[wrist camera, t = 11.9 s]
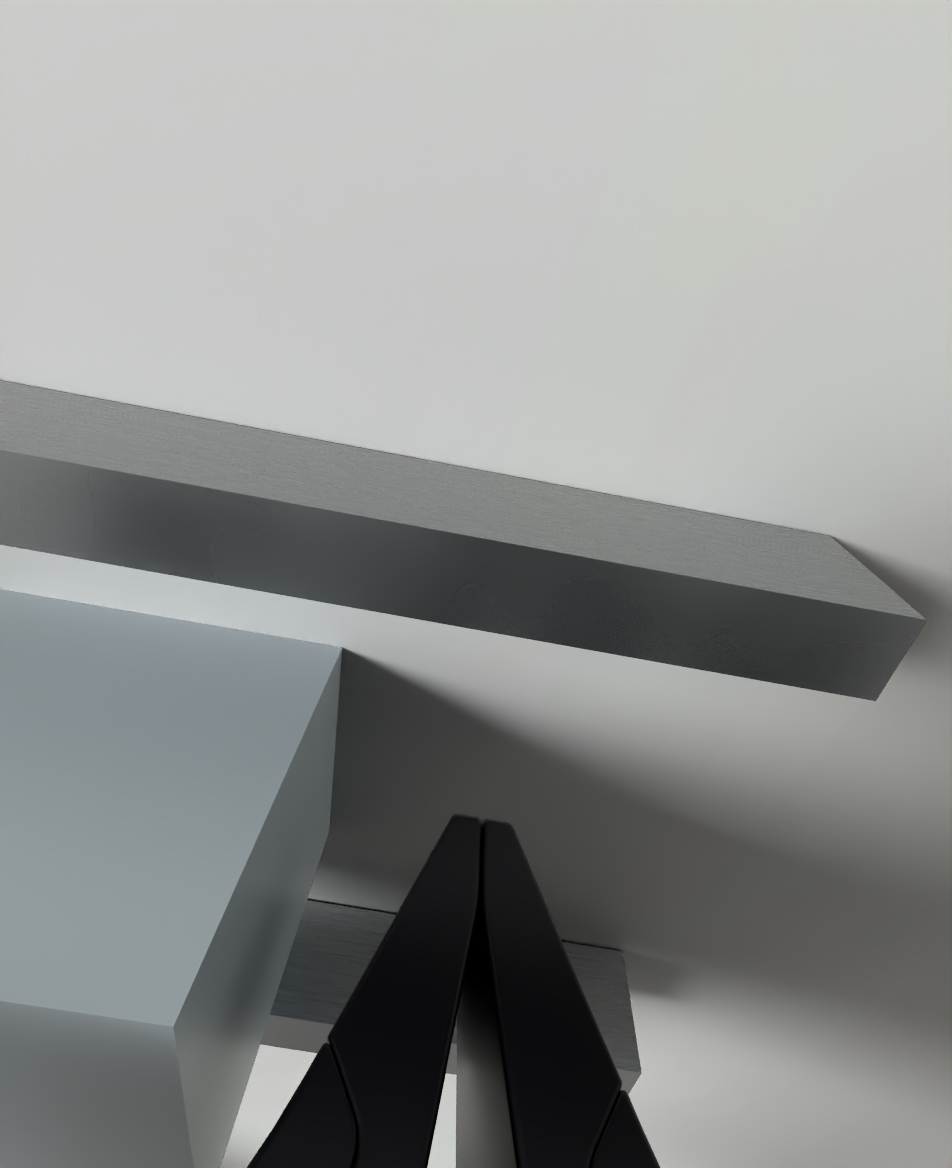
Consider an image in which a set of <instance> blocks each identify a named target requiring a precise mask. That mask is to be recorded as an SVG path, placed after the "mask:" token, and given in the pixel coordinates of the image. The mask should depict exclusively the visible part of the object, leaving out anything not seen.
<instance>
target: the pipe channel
mask: <svg viewBox="0 0 952 1168" xmlns="http://www.w3.org/2000/svg"><path fill="white" fill-rule="evenodd" d="M0 544H1V545H6V546H12V547H18V548H23V549H29V550H34V551H40V552H46V553H51V554H57V555H62V556H68V557H74V558H79V559H85V560H90V561H96V562H101V563H107V564H113V565H118V566H124V567H129V568H135V569H141V570H146V571H152V572H157V573H163V574H169V575H174V576H180V577H185V578H191V579H197V580H202V581H208V582H213V583H219V584H225V585H230V586H236V587H241V588H247V589H252V590H258V591H264V592H269V593H275V594H280V595H286V596H292V597H297V598H303V599H308V600H314V601H320V602H325V603H331V604H336V605H342V606H348V607H353V608H359V609H364V610H370V611H375V612H381V613H387V614H392V615H398V616H403V617H409V618H415V619H420V620H426V621H431V622H437V623H443V624H448V625H454V626H459V627H465V628H471V629H476V630H482V631H487V632H493V633H499V634H504V635H510V636H515V637H521V638H526V639H532V640H538V641H543V642H549V643H554V644H560V645H566V646H571V647H577V648H582V649H588V650H594V651H599V652H605V653H610V654H616V655H622V656H627V657H633V658H638V659H644V660H649V661H655V662H661V663H666V664H672V665H677V666H683V667H689V668H694V669H700V670H705V671H711V672H717V673H722V674H728V675H733V676H739V677H745V678H750V679H756V680H761V681H767V682H773V683H778V684H784V685H789V686H795V687H800V688H806V689H812V690H817V691H823V692H828V693H834V694H840V695H845V696H851V697H856V698H862V699H868V700H873V701H876V700H877V698H878V697H879V695H880V693H881V692H882V690H883V689H884V687H885V685H886V684H887V682H888V681H889V679H890V678H891V676H892V674H893V673H894V671H895V670H896V668H897V666H898V665H899V663H900V662H901V660H902V658H903V657H904V655H905V654H906V652H907V650H908V649H909V647H910V646H911V644H912V643H913V641H914V639H915V638H916V636H917V635H918V633H919V631H920V630H921V628H922V627H923V625H924V623H925V622H926V619H925V618H924V617H923V616H922V615H921V614H919V613H918V612H917V611H916V610H915V609H914V608H912V607H911V606H910V605H909V604H908V603H907V602H906V601H904V600H903V599H902V598H901V597H900V596H899V595H898V594H896V593H895V592H894V591H893V590H892V589H891V588H889V587H888V586H887V585H886V584H885V583H884V582H883V581H881V580H880V579H879V578H878V577H877V576H876V575H875V574H873V573H872V572H871V571H870V570H869V569H868V568H866V567H865V566H864V565H863V564H862V563H861V562H860V561H858V560H857V559H856V558H855V557H854V556H853V555H852V554H850V553H849V552H848V551H847V550H846V549H845V548H843V547H842V546H841V545H840V544H839V543H838V542H837V541H835V540H834V539H833V538H832V537H831V536H828V535H823V534H818V533H812V532H807V531H802V530H796V529H791V528H786V527H780V526H775V525H770V524H764V523H759V522H754V521H748V520H743V519H738V518H732V517H727V516H722V515H716V514H711V513H706V512H700V511H695V510H690V509H684V508H679V507H674V506H668V505H663V504H658V503H652V502H647V501H642V500H636V499H631V498H626V497H620V496H615V495H609V494H604V493H599V492H593V491H588V490H583V489H577V488H572V487H567V486H561V485H556V484H551V483H545V482H540V481H535V480H529V479H524V478H519V477H513V476H508V475H503V474H497V473H492V472H487V471H481V470H476V469H471V468H465V467H460V466H455V465H449V464H444V463H439V462H433V461H428V460H423V459H417V458H412V457H407V456H401V455H396V454H391V453H385V452H380V451H375V450H369V449H364V448H359V447H353V446H348V445H343V444H337V443H332V442H327V441H321V440H316V439H311V438H305V437H300V436H295V435H289V434H284V433H279V432H273V431H268V430H263V429H257V428H252V427H247V426H241V425H236V424H231V423H225V422H220V421H215V420H209V419H204V418H198V417H193V416H188V415H182V414H177V413H172V412H166V411H161V410H156V409H150V408H145V407H140V406H134V405H129V404H124V403H118V402H113V401H108V400H102V399H97V398H92V397H86V396H81V395H76V394H70V393H65V392H60V391H54V390H49V389H44V388H38V387H33V386H28V385H22V384H17V383H12V382H6V381H1V380H0ZM395 916H396V915H395V914H389V913H383V912H377V911H371V910H365V909H358V908H352V907H346V906H340V905H334V904H328V903H322V902H315V901H309V900H307V901H306V904H305V907H304V910H303V914H302V917H301V920H300V923H299V926H298V929H297V932H296V935H295V938H294V941H293V944H292V947H291V950H290V954H289V957H288V960H287V963H286V966H285V969H284V972H283V975H282V978H281V981H280V984H279V987H278V990H277V994H276V997H275V1000H274V1003H273V1006H272V1009H271V1012H270V1015H269V1018H268V1021H267V1024H266V1027H265V1031H264V1034H263V1037H262V1040H261V1043H260V1044H262V1045H269V1046H275V1047H281V1048H288V1049H294V1050H301V1051H307V1052H314V1053H318V1052H319V1050H320V1048H321V1046H322V1045H323V1044H324V1043H327V1037H328V1035H329V1033H330V1031H331V1029H332V1028H333V1026H334V1024H335V1022H336V1021H337V1019H338V1017H339V1015H340V1014H341V1012H342V1010H343V1008H344V1006H345V1005H346V1003H347V1001H348V999H349V998H350V996H351V994H352V992H353V991H354V989H355V987H356V985H357V983H358V982H359V980H360V978H361V976H362V975H363V973H364V971H365V969H366V968H367V966H368V964H369V962H370V960H371V959H372V957H373V955H374V953H375V952H376V950H377V948H378V946H379V945H380V943H381V941H382V939H383V937H384V936H385V934H386V932H387V930H388V929H389V927H390V925H391V923H392V922H393V920H394V918H395ZM562 943H563V945H564V947H565V950H566V952H567V954H568V957H569V959H570V961H571V964H572V966H573V968H574V971H575V973H576V975H577V978H578V980H579V982H580V985H581V987H582V989H583V992H584V994H585V996H586V999H587V1001H588V1003H589V1006H590V1008H591V1010H592V1013H593V1015H594V1017H595V1020H596V1022H597V1024H598V1027H599V1029H600V1031H601V1034H602V1036H603V1038H604V1041H605V1043H606V1045H607V1048H608V1050H609V1052H610V1055H611V1057H612V1059H613V1062H614V1064H615V1066H616V1069H617V1071H618V1073H619V1076H620V1078H621V1080H622V1084H623V1085H622V1088H621V1090H625V1091H626V1092H627V1093H628V1094H629V1092H630V1091H631V1089H632V1087H633V1086H634V1084H635V1083H636V1081H637V1079H638V1078H639V1076H640V1075H641V1066H640V1060H639V1054H638V1047H637V1041H636V1034H635V1028H634V1021H633V1015H632V1009H631V1002H630V996H629V989H628V983H627V977H626V970H625V964H624V957H623V952H622V951H616V950H610V949H604V948H598V947H592V946H585V945H579V944H573V943H567V942H562ZM446 1073H449V1074H456V1075H457V1018H456V1023H455V1028H454V1033H453V1038H452V1043H451V1048H450V1054H449V1059H448V1064H447V1069H446Z"/></svg>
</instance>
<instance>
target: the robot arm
mask: <svg viewBox="0 0 952 1168" xmlns="http://www.w3.org/2000/svg"><path fill="white" fill-rule="evenodd" d="M456 1018H457V1094H456V1168H660V1166H659V1164H658V1162H657V1159H656V1157H655V1155H654V1153H653V1151H652V1148H651V1146H650V1144H649V1142H648V1140H647V1137H646V1135H645V1133H644V1131H643V1129H642V1126H641V1124H640V1122H639V1119H638V1117H637V1115H636V1112H635V1110H634V1108H633V1105H632V1103H631V1101H630V1098H629V1096H628V1093H627V1092H626V1091H625V1090H621V1088H622V1085H623V1084H622V1080H621V1078H620V1076H619V1073H618V1071H617V1069H616V1066H615V1064H614V1062H613V1059H612V1057H611V1055H610V1052H609V1050H608V1048H607V1045H606V1043H605V1041H604V1038H603V1036H602V1034H601V1031H600V1029H599V1027H598V1024H597V1022H596V1020H595V1017H594V1015H593V1013H592V1010H591V1008H590V1006H589V1003H588V1001H587V999H586V996H585V994H584V992H583V989H582V987H581V985H580V982H579V980H578V978H577V975H576V973H575V971H574V968H573V966H572V964H571V961H570V959H569V957H568V954H567V952H566V950H565V947H564V945H563V943H562V940H561V938H560V936H559V933H558V931H557V929H556V926H555V924H554V922H553V919H552V917H551V915H550V912H549V910H548V908H547V905H546V903H545V901H544V898H543V896H542V894H541V892H540V889H539V887H538V885H537V882H536V880H535V878H534V875H533V873H532V871H531V868H530V866H529V864H528V861H527V859H526V857H525V854H524V852H523V850H522V847H521V845H520V843H519V840H518V838H517V836H516V833H515V831H514V829H513V827H512V825H511V824H509V823H508V822H503V821H498V820H492V819H485V820H483V821H482V823H481V820H480V819H479V818H478V817H474V816H468V815H463V814H454V815H453V816H452V817H451V819H450V821H449V822H448V824H447V826H446V828H445V829H444V831H443V833H442V835H441V837H440V838H439V840H438V842H437V844H436V845H435V847H434V849H433V851H432V852H431V854H430V856H429V858H428V860H427V861H426V863H425V865H424V867H423V868H422V870H421V872H420V874H419V875H418V877H417V879H416V881H415V883H414V884H413V886H412V888H411V890H410V891H409V893H408V895H407V897H406V898H405V900H404V902H403V904H402V906H401V907H400V909H399V911H398V913H397V914H396V916H395V918H394V920H393V922H392V923H391V925H390V927H389V929H388V930H387V932H386V934H385V936H384V937H383V939H382V941H381V943H380V945H379V946H378V948H377V950H376V952H375V953H374V955H373V957H372V959H371V960H370V962H369V964H368V966H367V968H366V969H365V971H364V973H363V975H362V976H361V978H360V980H359V982H358V983H357V985H356V987H355V989H354V991H353V992H352V994H351V996H350V998H349V999H348V1001H347V1003H346V1005H345V1006H344V1008H343V1010H342V1012H341V1014H340V1015H339V1017H338V1019H337V1021H336V1022H335V1024H334V1026H333V1028H332V1029H331V1031H330V1033H329V1035H328V1037H327V1043H324V1044H323V1045H322V1046H321V1048H320V1050H319V1052H318V1053H317V1055H316V1057H315V1059H314V1061H313V1062H312V1064H311V1066H310V1068H309V1069H308V1071H307V1073H306V1075H305V1076H304V1078H303V1080H302V1081H301V1083H300V1085H299V1086H298V1088H297V1090H296V1091H295V1093H294V1095H293V1096H292V1098H291V1100H290V1101H289V1103H288V1105H287V1106H286V1108H285V1110H284V1111H283V1113H282V1115H281V1116H280V1118H279V1120H278V1121H277V1123H276V1125H275V1126H274V1128H273V1129H272V1131H271V1132H270V1134H269V1135H268V1137H267V1138H266V1140H265V1141H264V1143H263V1144H262V1146H261V1147H260V1149H259V1150H258V1152H257V1153H256V1155H255V1156H254V1158H253V1159H252V1161H251V1162H250V1164H249V1165H248V1167H247V1168H427V1165H428V1160H429V1155H430V1150H431V1145H432V1140H433V1135H434V1130H435V1125H436V1120H437V1115H438V1109H439V1104H440V1099H441V1094H442V1089H443V1084H444V1079H445V1074H446V1069H447V1064H448V1059H449V1054H450V1048H451V1043H452V1038H453V1033H454V1028H455V1023H456Z"/></svg>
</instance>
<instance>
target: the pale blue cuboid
mask: <svg viewBox="0 0 952 1168" xmlns="http://www.w3.org/2000/svg"><path fill="white" fill-rule="evenodd" d="M341 659H342V647H337V646H332V645H326V644H320V643H314V642H308V641H302V640H296V639H290V638H284V637H278V636H273V635H267V634H261V633H255V632H249V631H243V630H237V629H231V628H225V627H219V626H214V625H208V624H202V623H196V622H190V621H184V620H178V619H172V618H166V617H160V616H155V615H149V614H143V613H137V612H131V611H125V610H119V609H113V608H107V607H101V606H96V605H90V604H84V603H78V602H72V601H66V600H60V599H54V598H48V597H42V596H37V595H31V594H25V593H19V592H13V591H7V590H1V589H0V1168H220V1166H221V1163H222V1160H223V1157H224V1154H225V1151H226V1148H227V1144H228V1141H229V1138H230V1135H231V1132H232V1129H233V1126H234V1123H235V1120H236V1117H237V1114H238V1111H239V1108H240V1104H241V1101H242V1098H243V1095H244V1092H245V1089H246V1086H247V1083H248V1080H249V1077H250V1074H251V1071H252V1067H253V1064H254V1061H255V1058H256V1055H257V1052H258V1049H259V1046H260V1043H261V1040H262V1037H263V1034H264V1031H265V1027H266V1024H267V1021H268V1018H269V1015H270V1012H271V1009H272V1006H273V1003H274V1000H275V997H276V994H277V990H278V987H279V984H280V981H281V978H282V975H283V972H284V969H285V966H286V963H287V960H288V957H289V954H290V950H291V947H292V944H293V941H294V938H295V935H296V932H297V929H298V926H299V923H300V920H301V917H302V914H303V910H304V907H305V904H306V901H307V898H308V895H309V892H310V889H311V886H312V883H313V880H314V877H315V873H316V870H317V867H318V864H319V861H320V858H321V855H322V852H323V849H324V846H325V843H326V840H327V837H328V833H329V827H330V813H331V799H332V785H333V771H334V757H335V743H336V729H337V715H338V701H339V687H340V673H341Z"/></svg>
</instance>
